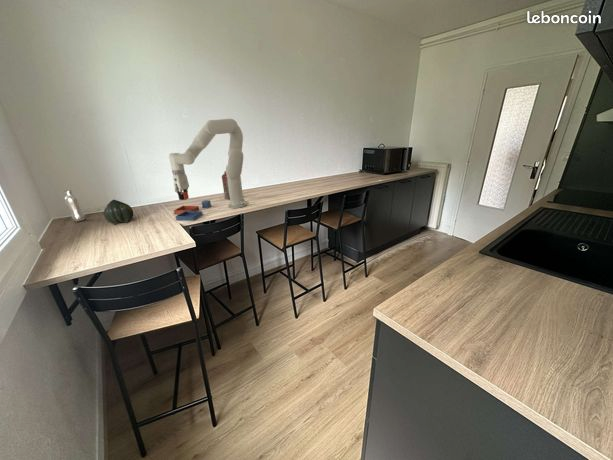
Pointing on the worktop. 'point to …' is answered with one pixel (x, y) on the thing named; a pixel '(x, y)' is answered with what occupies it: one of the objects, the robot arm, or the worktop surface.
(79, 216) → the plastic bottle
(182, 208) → the terracotta tray
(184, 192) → the terracotta block
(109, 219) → the squash
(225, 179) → the juice carton
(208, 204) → the blue block
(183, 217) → the blue tray
